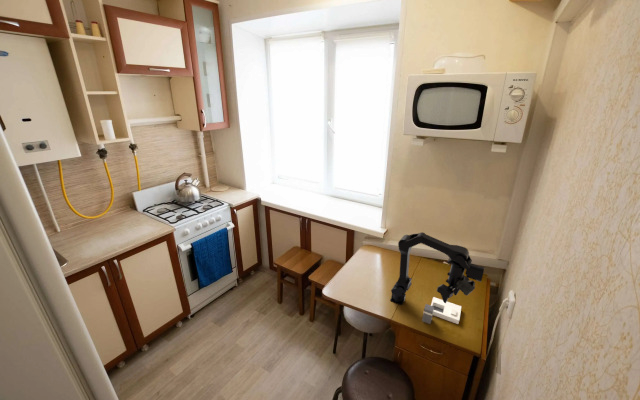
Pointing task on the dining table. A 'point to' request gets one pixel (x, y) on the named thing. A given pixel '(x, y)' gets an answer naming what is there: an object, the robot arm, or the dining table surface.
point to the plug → (428, 313)
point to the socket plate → (446, 310)
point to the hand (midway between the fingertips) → (450, 298)
